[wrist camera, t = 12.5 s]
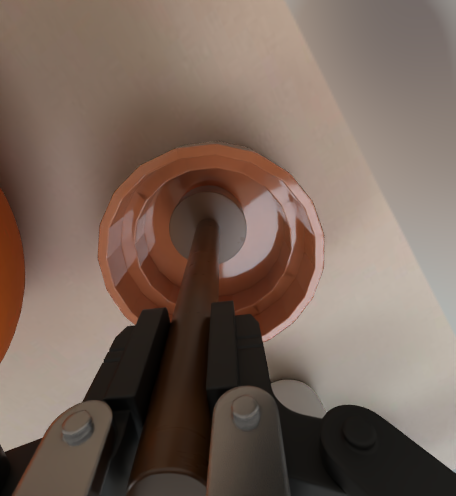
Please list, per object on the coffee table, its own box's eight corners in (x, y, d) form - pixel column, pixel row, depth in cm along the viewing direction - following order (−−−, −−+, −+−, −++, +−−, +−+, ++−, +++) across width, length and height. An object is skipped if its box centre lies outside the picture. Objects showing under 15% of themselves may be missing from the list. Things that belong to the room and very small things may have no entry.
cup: (209, 396, 31) (205, 480, 23) (253, 343, 29) (263, 418, 21) (292, 434, 33) (312, 522, 26) (338, 389, 31) (375, 471, 23)
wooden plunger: (241, 181, 21) (314, 375, 4) (247, 249, 23) (314, 565, 6) (168, 189, 21) (-34, 407, 4) (180, 256, 23) (70, 586, 6)
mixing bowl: (299, 131, 22) (326, 131, 16) (302, 299, 27) (323, 343, 21) (107, 153, 22) (68, 160, 16) (147, 314, 27) (127, 362, 22)
